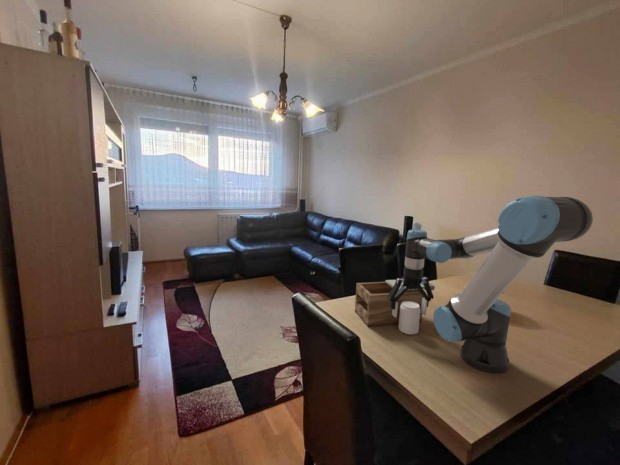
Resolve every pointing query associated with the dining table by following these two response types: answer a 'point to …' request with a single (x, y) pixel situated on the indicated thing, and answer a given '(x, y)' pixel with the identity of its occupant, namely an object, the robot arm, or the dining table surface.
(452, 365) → the dining table surface
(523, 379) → the dining table surface
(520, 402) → the dining table surface
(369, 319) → the crate
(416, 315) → the beverage can
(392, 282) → the lid
